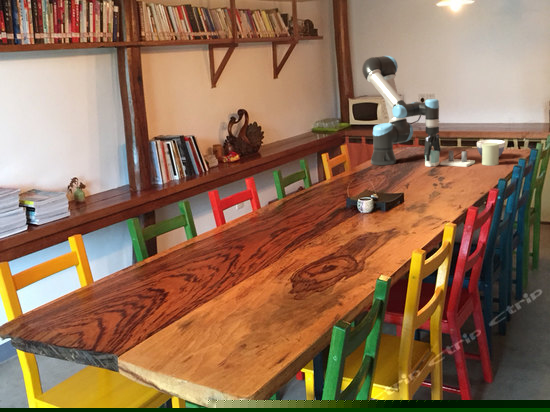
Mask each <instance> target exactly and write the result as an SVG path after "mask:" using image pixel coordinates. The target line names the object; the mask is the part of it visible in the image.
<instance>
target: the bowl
mask: <svg viewBox="0 0 550 412" xmlns="http://www.w3.org/2000/svg"><path fill="white" fill-rule="evenodd" d="M484 143H498V144H499V157H500V156H501V155H502V154H503V152H504V150H505V145H506V141H505V140H501V139H482V140H477V142H476V148H477V149H476V150H477V152H478V154H479V155H480V156H481V157H482V144H484Z"/></svg>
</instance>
